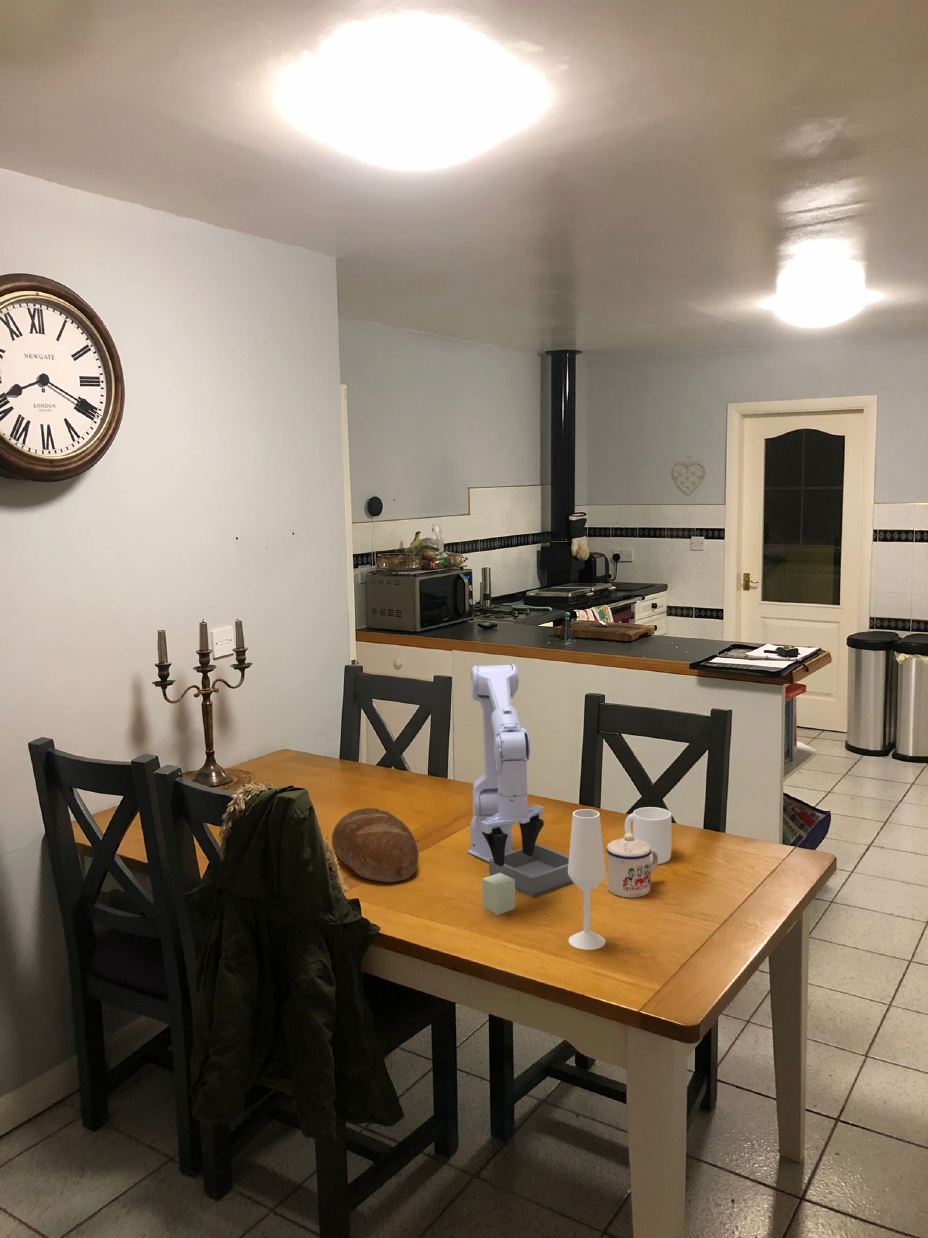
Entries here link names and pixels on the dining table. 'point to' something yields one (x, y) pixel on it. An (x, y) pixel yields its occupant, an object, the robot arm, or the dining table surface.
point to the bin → (534, 870)
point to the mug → (652, 830)
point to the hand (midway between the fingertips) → (513, 859)
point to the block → (499, 893)
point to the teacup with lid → (629, 866)
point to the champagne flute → (586, 869)
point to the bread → (376, 845)
